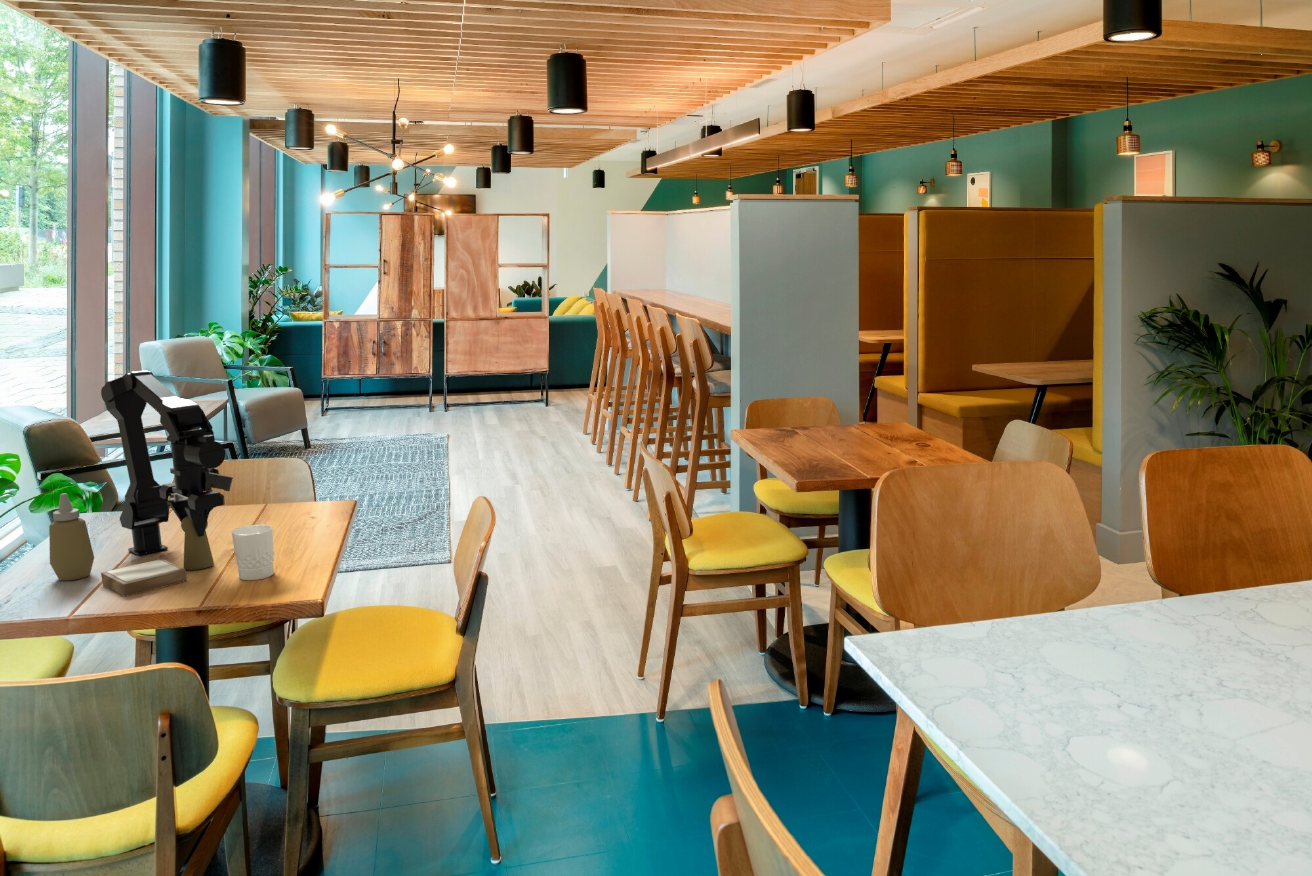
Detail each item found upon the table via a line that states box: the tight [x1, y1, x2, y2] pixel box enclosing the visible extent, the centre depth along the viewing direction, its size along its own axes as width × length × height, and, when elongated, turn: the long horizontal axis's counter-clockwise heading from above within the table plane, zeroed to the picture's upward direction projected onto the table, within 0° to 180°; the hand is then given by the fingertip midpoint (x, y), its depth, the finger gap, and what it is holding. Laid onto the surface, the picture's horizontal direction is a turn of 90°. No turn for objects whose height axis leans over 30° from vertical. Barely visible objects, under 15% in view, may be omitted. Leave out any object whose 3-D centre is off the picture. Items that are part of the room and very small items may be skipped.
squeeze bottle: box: [48, 493, 95, 581], centre depth 203 cm, size 8×8×18 cm
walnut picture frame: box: [100, 558, 188, 597], centre depth 200 cm, size 12×12×3 cm
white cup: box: [231, 524, 275, 581], centre depth 202 cm, size 8×8×10 cm
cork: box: [180, 516, 215, 571], centre depth 209 cm, size 6×6×11 cm
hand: (195, 533), depth 209 cm, fingers closed on cork, 5 cm apart
